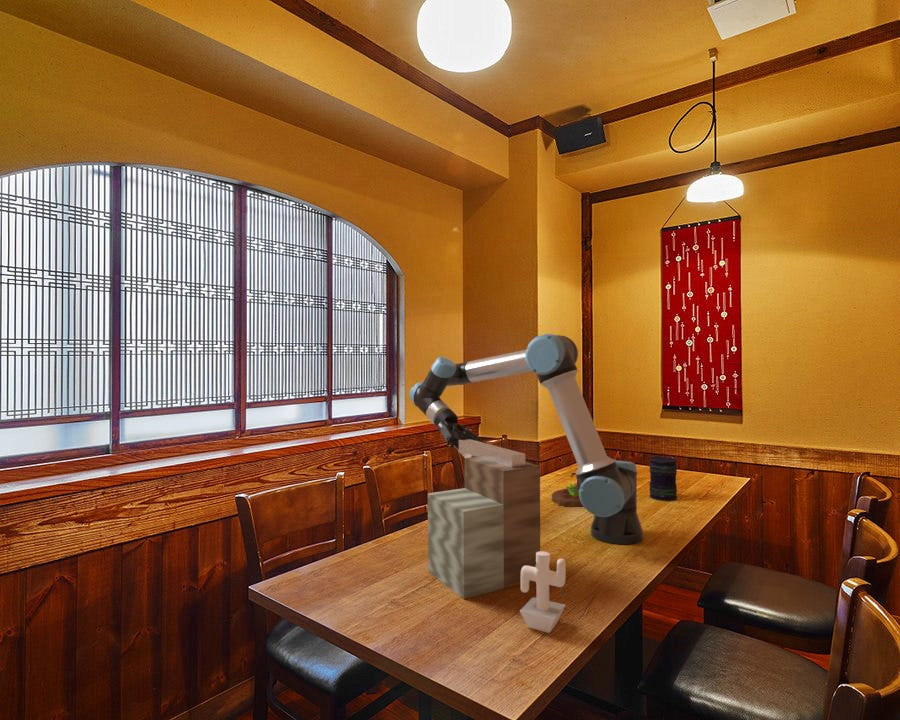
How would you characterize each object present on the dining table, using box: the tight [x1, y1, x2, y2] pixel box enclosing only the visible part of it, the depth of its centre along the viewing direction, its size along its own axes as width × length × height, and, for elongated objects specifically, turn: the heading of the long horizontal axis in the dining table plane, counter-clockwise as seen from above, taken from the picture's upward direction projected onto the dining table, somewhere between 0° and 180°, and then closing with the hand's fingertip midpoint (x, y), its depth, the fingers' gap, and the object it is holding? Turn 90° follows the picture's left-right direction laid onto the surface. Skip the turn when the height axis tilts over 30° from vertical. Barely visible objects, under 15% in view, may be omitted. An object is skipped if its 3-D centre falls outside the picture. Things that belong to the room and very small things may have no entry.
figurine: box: [519, 550, 567, 634], centre depth 108 cm, size 7×9×15 cm
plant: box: [551, 472, 584, 508], centre depth 200 cm, size 20×20×11 cm
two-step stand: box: [427, 456, 541, 600], centre depth 133 cm, size 18×22×28 cm
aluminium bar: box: [458, 439, 526, 468], centre depth 141 cm, size 26×4×3 cm, turn 29°
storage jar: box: [649, 456, 678, 502], centre depth 205 cm, size 10×10×15 cm
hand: (483, 459), depth 162 cm, fingers open, 13 cm apart
